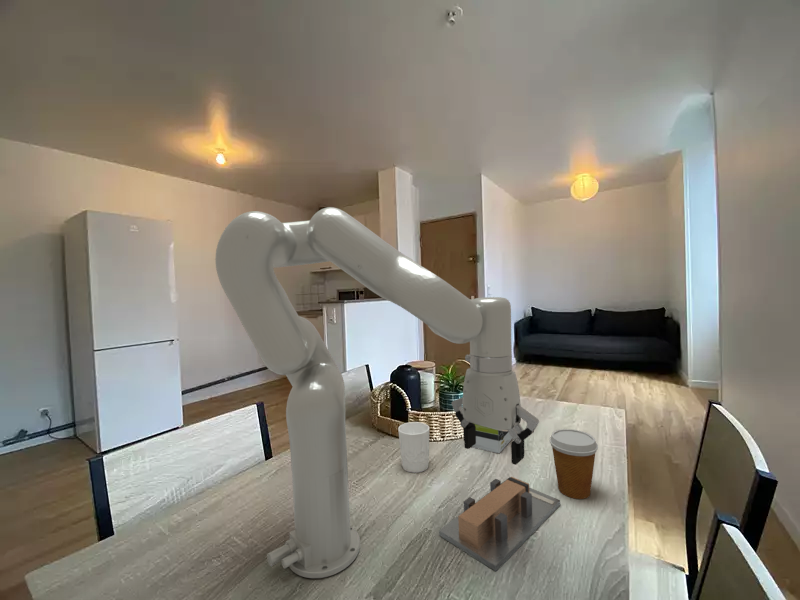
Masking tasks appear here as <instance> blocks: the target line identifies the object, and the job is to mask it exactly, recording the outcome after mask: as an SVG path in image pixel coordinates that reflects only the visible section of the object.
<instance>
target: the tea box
mask: <svg viewBox="0 0 800 600" xmlns="http://www.w3.org/2000/svg"><path fill="white" fill-rule="evenodd" d="M473 424H474V423H473ZM475 426H476V444H475V445H473V446H472V447H471V448H474V447H475V449H478V448H479V449H478V450H483V451H487V452H492V453H496V454H500V453H502V451H503V450H504V449H505V447H507V445H508V444H509V443H510V442H511V441H513V438H512V436H511V435H510V433H509V432H508V431H500V430H496V429H492V428H488V427H484V426H481V425H477V424H475Z"/></svg>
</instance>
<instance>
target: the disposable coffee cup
mask: <svg viewBox="0 0 800 600" xmlns="http://www.w3.org/2000/svg"><path fill="white" fill-rule="evenodd" d="M550 435H551V436H550V437H549V439H548V440H549V443H550V445H551V448H552V449H551V450H552V454H553V463H554V468H555V474H556V481H557V489H558V491H559V492H560V493H561V494H562V495H563V496H565V497H568V498H571V499H576V500H584V499H587V498H589V497H591V491H592V482H593V477H594V476H593V474H594V467H595V460H596V453H597V451H598V448H599V445H598V442H597V441H596V438H595V437H594V436H593V435H591V434H590V433H587V432H584V431H582V430H577V429H571V428H566V429H565V428H563V429H562V428H561V429H556V430H554V431H552V432H551V434H550Z"/></svg>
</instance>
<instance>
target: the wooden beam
mask: <svg viewBox="0 0 800 600" xmlns="http://www.w3.org/2000/svg"><path fill="white" fill-rule="evenodd" d="M505 480H506V481H505ZM505 480H504V481H505V482H504V481H503V482H504V483H502V484H501V485H500V486H498V487H497V488H496V489H494V490H493V491H491V492H490V491H489V492H490V493H489V492H488V493H489V494H488V493H486V494H487V495H486V494H485V495H486V496H485V495H484V496H485V497H484V496H482V497H483V498H482V497H481V498H482V499H481V498H480V499H481V500H480V499H478V500H479V501H478V500H477V501H478V502H477V501H476V502H477V503H476V502H475V504H474V505H473V506H471V507H470V508H469V509H467V510H466V511H465V512H464V511H462V512H463V513H462V512H461V513H462V514H461V513H460V514H461V515H460V514H459V516H458V515H457V516H458V519H459V538H460V539H462V540H463V541H465V542H466V543H468V544H470V545H471V546H473V547H475V548H476V549H479V548H480V547H481V546H482V545H484V544H485V543H486V542H487V541H488V540H489V539H490V538H491V537H492V536H494V535H495V517H496V516H498V515H499V514H500V513H503V514H505V515H507V523H508V522H509V521H510V520H511V519H512V518H514V517H515V516H516V515H517V514H518V513H519V512H520V511H521V495H522V494H523V493H525V492H528V493H529V488H530V483H528V482H525V481H523V480H521V479H518V478H516V477H514V476H509V477H508V478H506V479H505Z"/></svg>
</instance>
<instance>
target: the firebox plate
mask: <svg viewBox="0 0 800 600" xmlns="http://www.w3.org/2000/svg"><path fill="white" fill-rule="evenodd" d="M506 480H507V479H505V480H504V481H502V483H504V482H505V481H506ZM502 483H501V480H499V479H497V478H495V479H492V481H490V485H489V487H490V488H489V490H490V491H489V492H488V493H486V494H485V495H484V496H482V497H481V498H480V499H478V500H477V501H476V499H475V498H473V497H468V498H466V499H465V500H463V511H462V512H461V513H460V514H459V515H461V514H462V513H463V512H465V511H466V510H467V509H469V508H470V507H471V506H473V505H474V504H475V503H477V502H478V501H479V500H481V499H482V498H483V497H485V496H486V495H487V494H489V493H490V492H491V491H493V490H494V489H496V488H497V487H498V486H500V485H501V484H502ZM560 506H561V500H560V499H559V498H555V497H553V496H550V495H548V494H545V493H544V492H542V491H538V490H536V489H534V488H532V487H529V493H528V492H525V493H523V494H522V495H521V511H520V512H519V513H518V514H517V515H516V516H515V517H514V518H512V519H511V520H510V521H509V522H508V523H507V515H505V514H503V513H500V514H499V515H498V516H496V517H495V535H494V536H492V537H491V538H490V539H489V540H488V541H487V542H486V543H485V544H484V545H482V546H481V547H480V548H479V549H476V548H475V547H473V546H471V545H470V544H468V543H466V542H465V541H463V540H462V539H460V538H459V519H458V516H459V515H457V516H456V517H454V518H453V519H452V520H451V521H450V520H449V522H448V523H446V524H445V525H443V526H442V527H441V528H440V529H439V530H438V536H440V537H441V538H442V539H444V540H445V541H447V542H449V543H451V544H452V545H453V546H455V547H457V548H458V549H460V550H461V551H463V552H464V553H466V554H468V556H470V557H472V558H474V559H475V560H476V561H478V562H480V563H482V565H485V566H486V567H488V568H489V569H491V570H492V571H494V572H497V571H498V570H499V569H500V568H501V567H502V566H503V565H504V564H505V563H506V562H508V560H509V559H510V558H511V557H512V556H513V555H514V554H515V553H516V552H517V551H518V550H519V549H520V548H521V547H522V545H523V544H524V543H525V542H526V541H527V540H528V539H529V538H530V537H531V536H533V534H534V533H535V532H536V531H537V530H538V529H539V528H540V526H542V525H543V523H544V522H545V521H546V520H547V519H548V518H550V516H551V515H552V514H553V513H554V512H555V511H556V510H557V509H558V508H559V507H560Z"/></svg>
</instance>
